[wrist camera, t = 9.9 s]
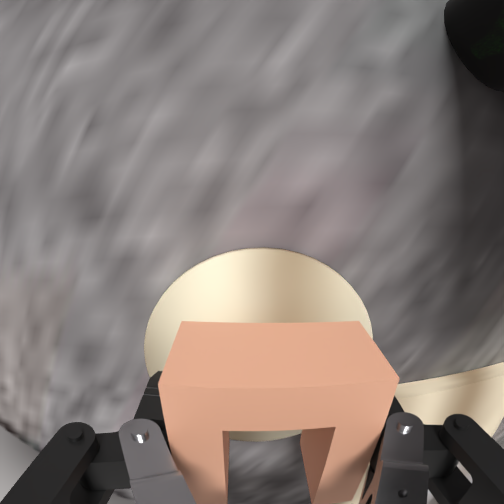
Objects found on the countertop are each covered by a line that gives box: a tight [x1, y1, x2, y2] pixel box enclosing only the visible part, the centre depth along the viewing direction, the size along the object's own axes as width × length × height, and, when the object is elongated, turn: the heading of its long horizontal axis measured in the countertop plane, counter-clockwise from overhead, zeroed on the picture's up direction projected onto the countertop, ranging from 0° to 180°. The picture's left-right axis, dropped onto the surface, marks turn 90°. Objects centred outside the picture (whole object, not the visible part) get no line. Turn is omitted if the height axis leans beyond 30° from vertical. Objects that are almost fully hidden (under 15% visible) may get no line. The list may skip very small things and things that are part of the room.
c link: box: [158, 321, 399, 504], centre depth 10 cm, size 6×6×4 cm
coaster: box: [144, 247, 373, 441], centre depth 13 cm, size 10×10×1 cm
